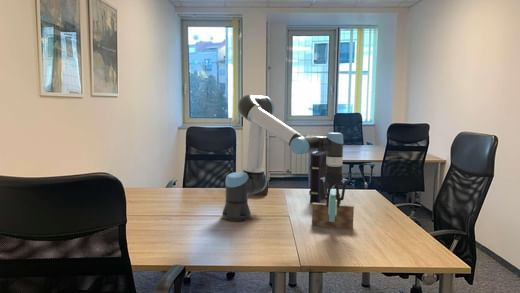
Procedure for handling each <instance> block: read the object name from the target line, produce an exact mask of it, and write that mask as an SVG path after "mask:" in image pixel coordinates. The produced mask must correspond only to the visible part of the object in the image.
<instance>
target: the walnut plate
mask: <svg viewBox="0 0 520 293" xmlns="http://www.w3.org/2000/svg"><path fill="white" fill-rule="evenodd" d="M311 209H312V210H311V212H312V213H311V226H315V227H328V228H340V229H341V228H342V229H354V213H355V211H354V210H355V206H354V205H353V204H352V205H351V204H341V205H340V204H339V208H337V215H335V222H329V214H328V209H329V207H326V202H325V203H323V202H319V203H317V202H312V208H311Z"/></svg>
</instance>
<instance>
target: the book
mask: <svg viewBox="0 0 520 293" xmlns="http://www.w3.org/2000/svg"><path fill="white" fill-rule="evenodd" d="M310 155H311V158H310V159H311V161H310V162H311V164H310V166H309V170H310V188H309V189H310V190H309V194H308V195H309V196H310V197H309V198H310V199H309V202H310V203H321V202H322V201H323V200H324V199H323V196H322V185H321V182H320V178H323V177H325V175H326V166H327V164H326V157H327V152H319V151H315V152H313V153H311V154H310ZM324 186H325V196H326V197H327V192H328V186H329V183H328V182H327V181H326V179H325V182H324Z"/></svg>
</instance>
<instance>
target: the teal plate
mask: <svg viewBox="0 0 520 293" xmlns="http://www.w3.org/2000/svg"><path fill="white" fill-rule="evenodd" d="M329 200H330V212H329V222H335V201H336V188H331V190H330V196H329Z"/></svg>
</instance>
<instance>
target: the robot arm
mask: <svg viewBox="0 0 520 293" xmlns="http://www.w3.org/2000/svg"><path fill="white" fill-rule="evenodd" d="M237 103H238V104H237V110H238V112H239V114H240V115H241V116H242V117H243V118H244V119H245V120H246V121H248V122H249V131H248V132H249V134H248V143H247V154H246V156H247V157H246V165H245V166H244V168H243V171H237V172H231V173H229V174H227V175H226V177H225V183H224V184H225V204H224V207H223V210H222V213H221V215H222V216H221V218H222V219H223V220H225V221H229V222H245V221H248V220H250V219H251V216H252V215H251V209H250V206H249V203H248V198H249V196H252V195H251V194H254V193H259V192H260V191H262V190H264V189H265V187H266V185H267V180H268V176H267V175H266V173H265V169H264V167H263V160H264V159H263V158H264V150H265V149H264V147H265V137H266V132H268V133H270V134H271V135H273V136H274V137H276V138H277V139H278V140H280V141H281V142H283V143H284V144H285V145H287V146H289V147H290V150H291V152H292V153H293V154H296V155H305V154H309V153H316V152H318V151H319V152H327V157H326V164H327V166H326V175H325V177H323V178H320V182H321V185H322V196H323V199H322V200H325V201H326V202H325V204H326V207H329V209H328V214H329V212H330V195H331V189H332V186H335V189H336V194H337V200H336V201H335V215H337V208H339V204H340V201H341V202H342V201H344V198H345V192H346V186H347V184H348V183H349V182H348V181H349V180H348V179H346V178H345V177H343V158H344V157H343V156H344V155H343V151H344V135H343V133H341V132H328V133H327V134H326V136H323V135H313V134H312V135H311V134H310V135H309V134H308V135H305V136H304V135H302V134H301V133H299V131H296V130H295V129H294V128H292V127H290V126H289V125H287V124H285V123H284V122H283V121H281V120H280V119H278V118H276V117H275V116H274V115H273V113H274V111H275V105H274V102H273V100H272V98H270V97H269V96H266V95H262V94H259V95H257V94H246V95H244V96H243V97H241V98H240V99H239V100H238V102H237ZM266 176H267V177H266ZM325 179H326V181H327V182H328V188H327V196H325V186H324V182H325ZM341 182H342V184H343V185H342V190H341V194H340V189H339V188H340V186H339V184H340V183H341ZM339 194H340V197H339Z"/></svg>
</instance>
